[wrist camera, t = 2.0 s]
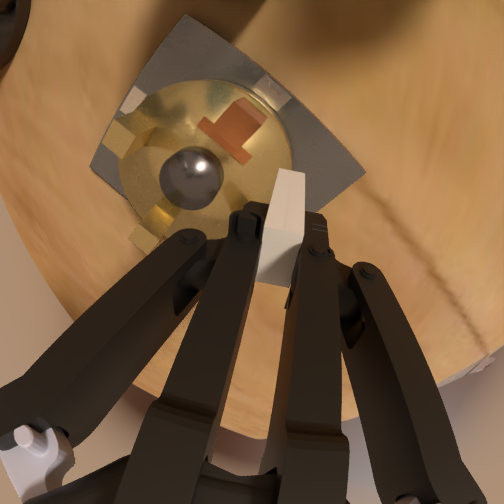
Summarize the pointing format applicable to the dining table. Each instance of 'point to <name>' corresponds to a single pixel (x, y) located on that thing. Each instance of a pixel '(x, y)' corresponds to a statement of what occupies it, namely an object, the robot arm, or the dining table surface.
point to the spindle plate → (257, 81)
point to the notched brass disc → (197, 157)
